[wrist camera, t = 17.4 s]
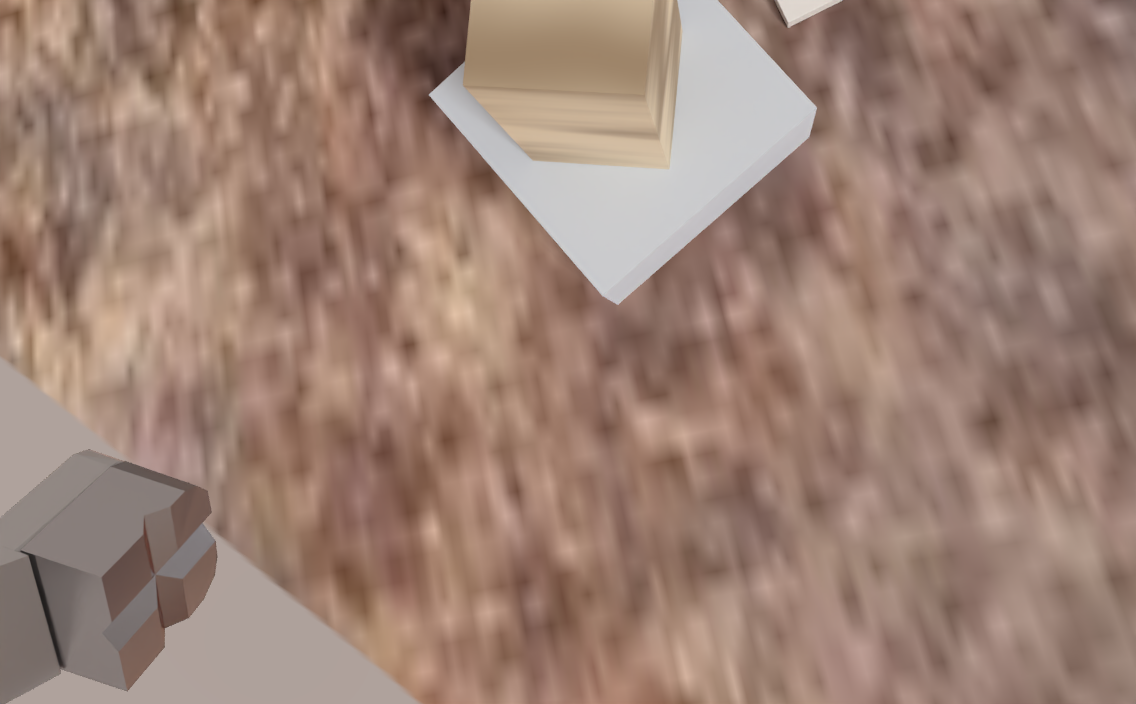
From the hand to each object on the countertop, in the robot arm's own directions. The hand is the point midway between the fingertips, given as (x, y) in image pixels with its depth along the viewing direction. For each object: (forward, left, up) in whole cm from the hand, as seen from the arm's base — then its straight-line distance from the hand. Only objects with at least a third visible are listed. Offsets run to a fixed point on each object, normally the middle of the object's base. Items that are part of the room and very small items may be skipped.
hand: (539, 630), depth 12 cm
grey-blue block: (-3, -13, -32) cm, 34 cm away
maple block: (-3, -13, -27) cm, 30 cm away
